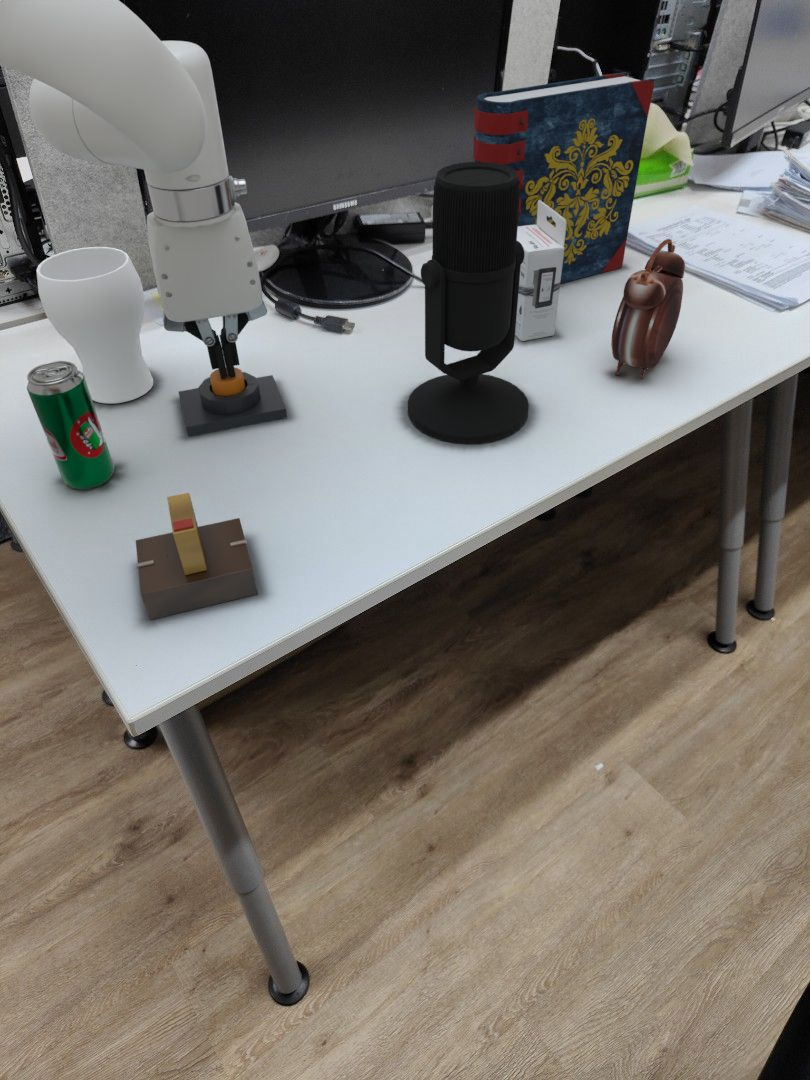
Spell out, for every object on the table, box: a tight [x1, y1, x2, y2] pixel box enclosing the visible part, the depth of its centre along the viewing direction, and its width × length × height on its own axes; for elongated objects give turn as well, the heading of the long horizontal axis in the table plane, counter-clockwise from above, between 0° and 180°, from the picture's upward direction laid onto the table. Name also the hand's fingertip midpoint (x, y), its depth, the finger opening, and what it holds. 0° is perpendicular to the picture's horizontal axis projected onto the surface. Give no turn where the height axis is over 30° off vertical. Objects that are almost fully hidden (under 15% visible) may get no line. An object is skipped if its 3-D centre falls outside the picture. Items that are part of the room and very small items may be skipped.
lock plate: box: [135, 517, 259, 621], centre depth 65 cm, size 9×7×3 cm
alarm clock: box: [610, 238, 686, 379], centre depth 87 cm, size 11×5×15 cm, turn 146°
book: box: [472, 71, 655, 285], centre depth 104 cm, size 25×7×25 cm, turn 119°
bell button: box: [209, 367, 245, 396], centre depth 85 cm, size 4×4×2 cm
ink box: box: [515, 200, 567, 342], centre depth 96 cm, size 8×5×15 cm, turn 17°
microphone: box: [407, 161, 530, 445], centre depth 78 cm, size 14×14×25 cm
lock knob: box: [166, 492, 207, 575], centre depth 63 cm, size 5×2×5 cm, turn 18°
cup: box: [35, 246, 154, 404], centre depth 86 cm, size 11×11×15 cm
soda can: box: [26, 360, 115, 490], centre depth 74 cm, size 5×5×12 cm
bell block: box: [178, 371, 288, 437], centre depth 86 cm, size 11×8×3 cm
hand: (226, 371), depth 84 cm, fingers closed
